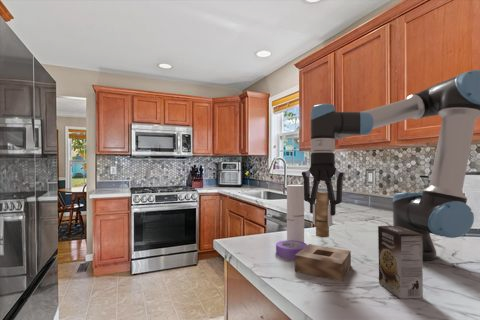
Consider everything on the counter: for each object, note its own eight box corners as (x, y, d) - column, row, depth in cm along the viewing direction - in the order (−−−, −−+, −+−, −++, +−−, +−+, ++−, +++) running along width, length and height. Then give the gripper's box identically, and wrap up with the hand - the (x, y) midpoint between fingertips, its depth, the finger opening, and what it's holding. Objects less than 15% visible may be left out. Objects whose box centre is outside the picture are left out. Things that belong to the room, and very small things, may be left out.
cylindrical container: (304, 247, 106) (304, 186, 106) (286, 246, 107) (286, 185, 108) (303, 242, 113) (303, 184, 113) (287, 241, 114) (287, 184, 115)
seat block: (350, 266, 86) (350, 250, 86) (341, 281, 74) (341, 263, 74) (309, 258, 94) (309, 244, 94) (294, 271, 82) (294, 254, 82)
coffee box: (377, 283, 73) (376, 225, 74) (399, 282, 74) (398, 225, 74) (400, 299, 64) (399, 233, 65) (424, 298, 65) (423, 233, 65)
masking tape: (273, 257, 95) (273, 247, 95) (279, 248, 106) (279, 238, 106) (306, 261, 91) (306, 250, 91) (309, 251, 102) (308, 241, 102)
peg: (330, 235, 85) (330, 192, 85) (327, 238, 81) (327, 193, 82) (317, 233, 87) (317, 191, 87) (314, 236, 84) (314, 192, 84)
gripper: (293, 152, 86) (293, 223, 86) (348, 151, 77) (348, 230, 76) (301, 153, 93) (300, 219, 92) (352, 152, 83) (352, 225, 83)
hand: (322, 224), depth 84 cm, fingers closed on peg, 4 cm apart
